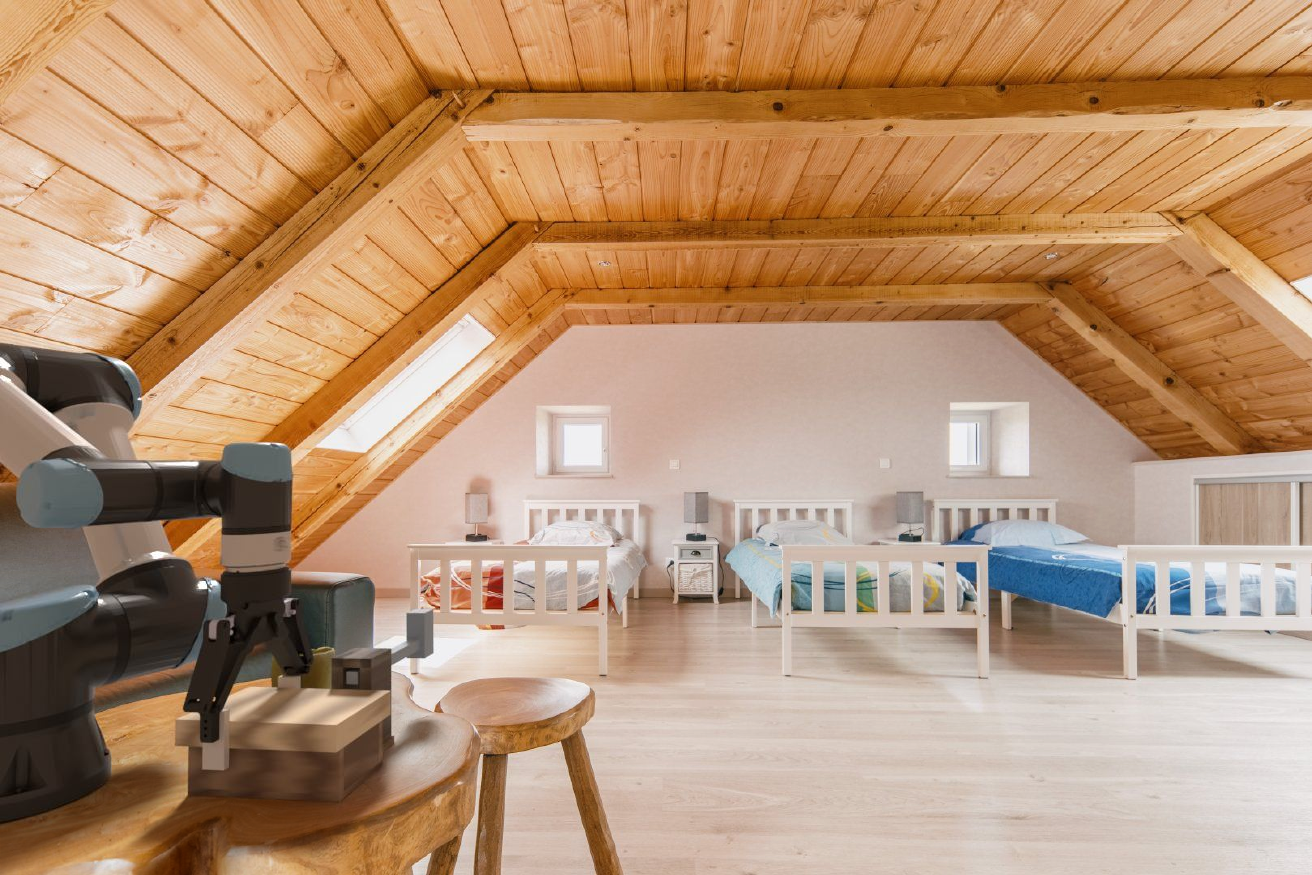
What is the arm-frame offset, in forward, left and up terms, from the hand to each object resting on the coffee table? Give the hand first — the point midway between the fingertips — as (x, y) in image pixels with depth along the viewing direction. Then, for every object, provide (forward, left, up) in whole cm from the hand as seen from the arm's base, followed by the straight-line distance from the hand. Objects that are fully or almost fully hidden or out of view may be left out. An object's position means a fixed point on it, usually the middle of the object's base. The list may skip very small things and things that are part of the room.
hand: (254, 746), depth 81 cm
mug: (-12, +28, -4) cm, 31 cm away
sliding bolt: (+9, +17, +4) cm, 19 cm away
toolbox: (+5, +4, -4) cm, 7 cm away
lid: (+5, 0, +2) cm, 5 cm away
